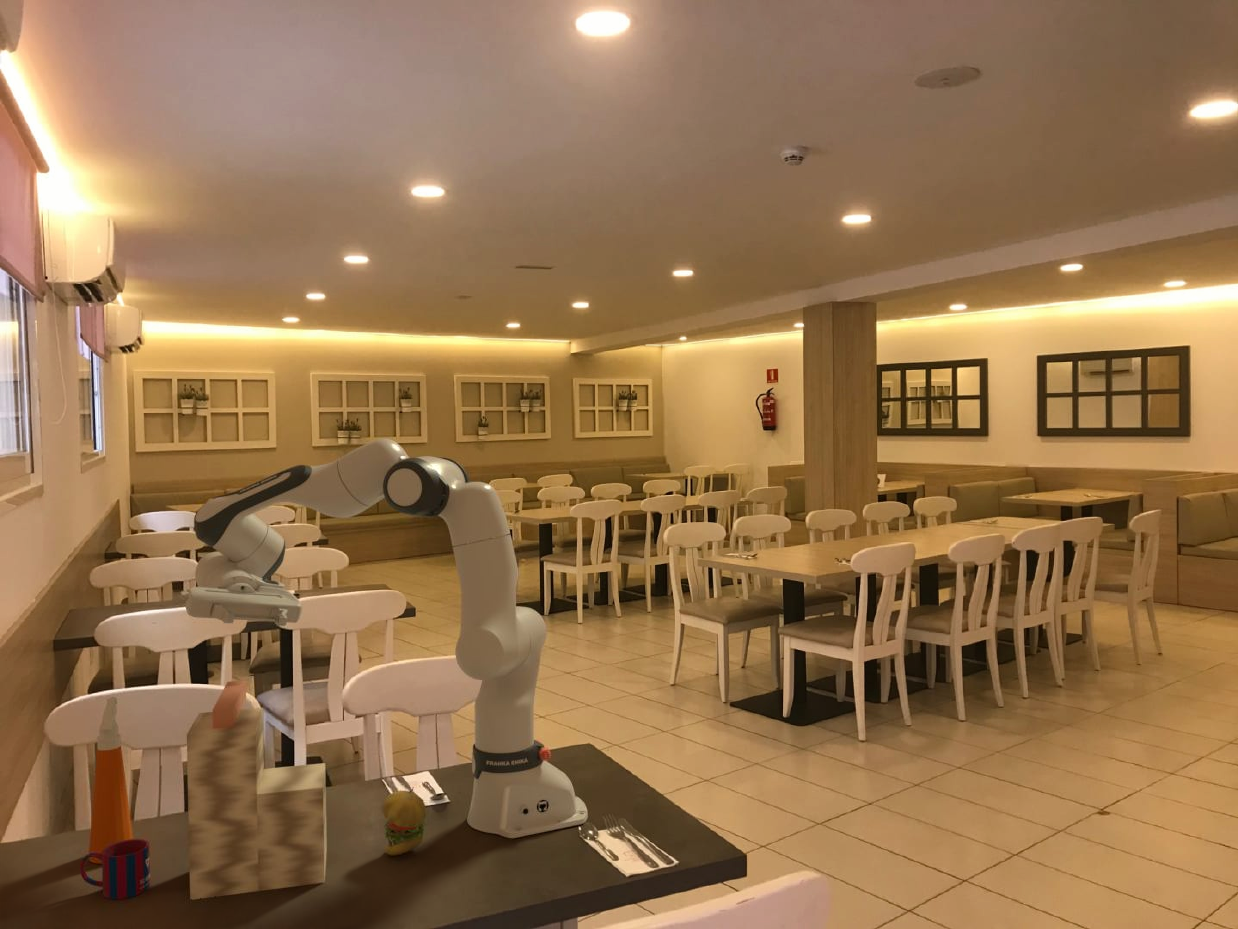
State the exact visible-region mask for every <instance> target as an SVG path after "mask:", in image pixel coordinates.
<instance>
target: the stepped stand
mask: <svg viewBox="0 0 1238 929" xmlns="http://www.w3.org/2000/svg"><path fill="white" fill-rule="evenodd" d="M263 708H264V707H258V708H257V707H256V708H245V709H241V710H240V713H239V715H238V717H237V719H236V722H235V724H234V726H233V727H227V728H215V729H213V711H209V712H198V714H197V716H196V717H195V720H194V721H193V722H192V724H191V726H190V728H189V730H188V732H187V733H186V763H187V766H186V767H187V801H188V802H187V803H188V804H187V805H188V806H187V807H188V808H187V809H188V810H187V811H188V812H187V813H188V815H187V816H188V848H189V849H188V851H189V852H188V853H189V855H188V857H189V896H190V897H189V898H190V900H191V899H192V900H199V899H200V898H201V899H207V898H208V899H209V898H214V897H215V896H216V897H222V896H230V895H231V896H233V895H238V894H246V893H253V892H254V893H255V892H260V891H269V890H279V889H284V888H294V887H299V886H300V887H301V886H307V885H309V886H310V885H316V884H323V883H325V880H326V867H327V856H328V854H327V852H328V848H327V847H328V844H327V843H328V842H327V836H328V834H327V792H326V790H327V787H326V784H327V783H326V781H327V779H326V776H327V775H326V762H322V763H313V764H312V763H311V764H304V765H303V764H300V765H292V766H281V767H272V768H271V767H270V768H265V761H264V760H265V759H264V756H265V753H264V747H265V746H264V709H263ZM216 897H215V898H216ZM201 899H200V900H201Z"/></svg>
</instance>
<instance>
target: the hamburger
mask: <svg viewBox="0 0 1238 929" xmlns="http://www.w3.org/2000/svg"><path fill="white" fill-rule="evenodd" d="M413 790H414V786H413V787H412V788H411V789H410V790H409V791H407V790H402V789H401V790H396V791H394V792H392V793H389V795H387V797H386V798H385V799H384V801H383V803H382V806H381V811H382V813H383V815H384V818H385V819H387V820H386V822H385V824H384V828H385V831H386V832H384V836H385V838H387V844H386V845H385V846H384V847H383V850H384V852H385V853H386V854H387V855H388V856H400V855H403V854H405V853H408V852H410V851H412V850H413V849H416V848H417V847H418V846H419V845H420V844H421V843H422V842H423V839H424V831H425V829H424V827H425V824H426V823H425V821H424V820H425V818H426V814H427V808H426V805H425V803H424V799H423V798H421V797H420V795H418V794H416V793H414V792H413Z"/></svg>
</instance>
